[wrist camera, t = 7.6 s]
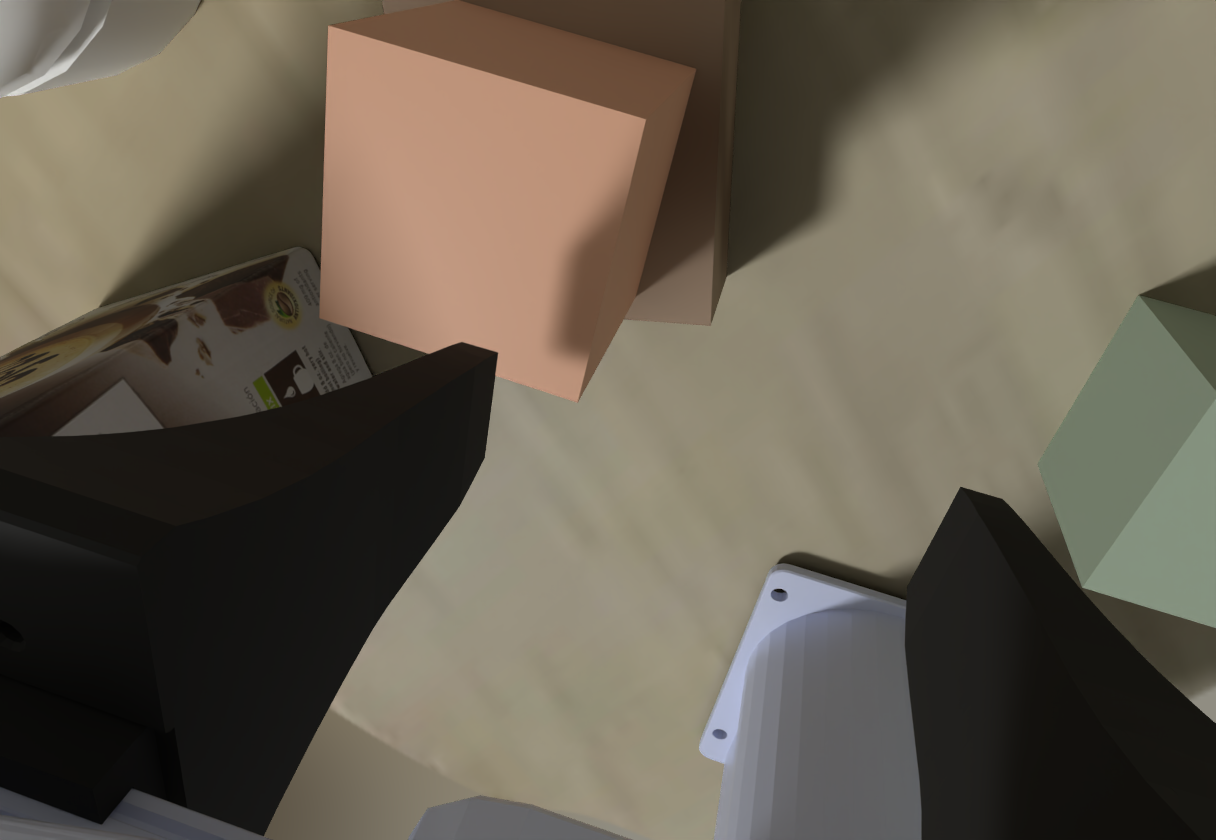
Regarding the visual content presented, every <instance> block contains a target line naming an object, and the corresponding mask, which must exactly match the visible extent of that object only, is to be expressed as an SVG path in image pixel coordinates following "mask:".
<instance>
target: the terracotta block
mask: <svg viewBox="0 0 1216 840" xmlns="http://www.w3.org/2000/svg"><path fill="white" fill-rule="evenodd" d="M695 72H696V69H695V68H692V67H689V66H685V65H682V64H678V63H675V62H671V61H668V60H664V59H661V58H657V57H654V56H650V55H647V54H644V53H640V52H637V51H633V50H630V49H626V48H623V47H619V46H616V45H612V44H609V43H605V42H602V41H598V40H595V39H592V38H588V37H585V36H581V35H578V34H574V33H571V32H567V31H564V30H560V29H557V28H553V27H550V26H547V25H543V24H540V23H536V22H533V21H529V20H526V19H522V18H519V17H515V16H512V15H508V14H505V13H501V12H498V11H495V10H491V9H488V8H484V7H481V6H477V5H474V4H470V3H467V2H463V1H460V0H454V1H449V2H444V3H439V4H434V5H429V6H424V7H419V8H414V9H409V10H404V11H399V12H394V13H389V14H384V15H379V16H374V17H368V18H363V19H358V20H353V21H348V22H343V23H338V24H333V25H328V51H327V84H326V116H325V149H324V181H323V214H322V246H321V279H320V311H319V318H320V319H324V320H327V321H330V322H333V323H336V324H339V325H342V326H345V327H348V328H351V329H354V330H357V331H360V332H363V333H366V334H369V335H372V336H376V337H379V338H382V339H385V340H388V341H391V342H394V343H397V344H400V345H403V346H406V347H409V348H412V349H415V350H418V351H421V352H425V353H428V354H430V353H433V352H435V351H438V350H440V349H443V348H445V347H448V346H451V345H453V344H457V343H460V342H464V343H468V344H471V345H475V346H478V347H481V348H485V349H488V350H492V351H495V352H498V359H497V366H496V374H495V376H498V377H501V378H504V379H507V380H510V381H513V382H516V383H519V384H522V385H525V386H529V387H532V388H535V389H538V390H541V391H544V392H547V393H550V394H553V395H556V396H559V397H562V398H565V399H568V400H571V401H574V402H577V403H578V401H579V399H580V397H581V396H582V394H583V392H584V390H585V388H586V386H587V385H588V383H589V381H590V379H591V377H592V376H593V374H594V372H595V370H596V368H597V367H598V365H599V363H600V361H601V359H602V357H603V356H604V354H605V352H606V350H607V348H608V347H609V345H610V343H611V341H612V339H613V337H614V336H615V334H616V332H617V330H618V328H619V327H620V325H621V323H622V321H623V319H624V317H625V316H626V314H627V312H628V310H629V308H630V307H631V305H632V303H633V301H634V299H635V297H636V294H637V291H638V287H639V283H640V279H641V276H642V272H643V268H644V264H645V261H646V257H647V253H648V249H649V246H650V242H651V238H652V234H653V230H654V227H655V223H656V219H657V215H658V212H659V208H660V204H661V200H662V197H663V193H664V189H665V185H666V182H667V178H668V174H669V170H670V167H671V163H672V159H673V155H674V151H675V148H676V144H677V140H678V136H679V133H680V129H681V125H682V121H683V118H684V114H685V110H686V106H687V103H688V99H689V95H690V91H691V88H692V84H693V80H694V76H695Z"/></svg>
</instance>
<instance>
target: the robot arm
mask: <svg viewBox="0 0 1216 840" xmlns="http://www.w3.org/2000/svg"><path fill="white" fill-rule="evenodd" d="M497 359H498V352H495V351H492V350H488V349H485V348H481V347H478V346H475V345H471V344H468V343H464V342H460V343H457V344H453V345H451V346H448V347H445V348H443V349H440V350H438V351H435V352H433V353H430V354H428V355H426V356H423V357H421V358H418V359H416V360H413V361H411V362H409V363H406V364H404V365H401V366H399V367H396V368H394V369H391V370H389V371H386V372H384V373H381V374H379V375H376V376H374V377H371V378H368V379H366V380H363V381H360V382H357V383H354V384H351V385H348V386H345V387H343V388H340V389H337V390H334V391H331V392H328V393H325V394H322V395H319V396H316V397H313V398H310V399H307V400H303V401H300V402H296V403H293V404H289V405H285V406H282V407H278V408H273V409H269V410H265V411H261V412H257V413H253V414H248V415H243V416H239V417H233V418H227V419H221V420H215V421H209V422H203V423H197V424H191V425H185V426H179V427H172V428H164V429H155V430H145V431H136V432H124V433H111V434H98V435H80V436H39V437H0V840H271V839H269V838H266V837H264V834H265V832H266V830H267V828H268V826H269V824H270V822H271V820H272V817H273V816H274V814H275V811H276V809H277V807H278V805H279V803H280V801H281V799H282V797H283V795H284V793H285V791H286V789H287V788H288V785H289V784H290V781H291V780H292V778H293V776H294V774H295V772H296V770H297V768H298V766H299V764H300V762H301V760H302V758H303V756H304V754H305V752H306V750H307V748H308V746H309V744H310V742H311V741H312V738H313V737H314V735H315V733H316V731H317V729H318V727H319V725H320V724H321V722H322V720H323V718H324V716H325V714H326V712H327V711H328V709H329V707H330V705H331V703H332V701H333V699H334V698H335V696H336V694H337V692H338V690H339V688H340V686H341V685H342V683H343V681H344V679H345V677H346V675H347V674H348V672H349V670H350V668H351V667H352V665H353V663H354V661H355V660H356V658H357V656H358V654H359V652H360V651H361V649H362V647H363V645H364V644H365V642H366V640H367V638H368V637H369V635H370V633H371V631H372V630H373V628H374V626H375V625H376V623H377V622H378V620H379V619H380V617H381V616H382V614H383V613H384V611H385V610H386V608H387V606H388V605H389V604H390V602H391V601H392V599H393V598H394V597H395V595H396V594H397V593H398V591H399V590H400V588H401V587H402V586H403V584H404V583H405V582H406V580H407V579H408V577H409V576H410V575H411V573H412V572H413V570H414V569H415V568H416V566H417V565H418V564H419V562H420V561H421V559H422V558H423V557H424V555H425V554H426V553H427V551H428V550H429V548H430V547H431V546H432V544H433V543H434V542H435V540H436V539H437V537H438V536H439V534H440V533H441V532H442V530H443V529H444V527H445V526H446V525H447V523H448V522H449V520H450V519H451V518H452V516H453V515H454V513H455V512H456V510H457V509H458V508H459V506H460V504H461V502H462V501H463V499H464V497H465V495H466V493H467V491H468V489H469V488H470V486H471V484H472V482H473V480H474V478H475V476H476V474H477V472H478V470H479V468H480V466H481V464H482V462H483V460H484V458H485V451H486V443H487V435H488V428H489V420H490V412H491V405H492V397H493V389H494V382H495V374H496V366H497ZM777 588H778V589H783V590H785V591H786V592H784V593H777V592H776V591H774V589H777ZM719 729H721V730H719ZM699 750H700V752H701V753H702V754H703V755H704V756H705V757H707V758H709V759H712V760H715V761H718V762H721V763H724V771H723V778H722V785H721V792H720V799H719V807H718V814H717V821H716V828H715V835H714V840H1216V723H1215V722H1213V721H1212V720H1211V719H1210V718H1209V717H1208V716H1206V715H1205V714H1204V713H1203V712H1202V711H1201V710H1200V709H1199V708H1197V707H1196V706H1195V705H1194V704H1193V703H1192V702H1191V701H1190V700H1189V699H1188V698H1187V697H1185V696H1184V695H1183V694H1182V693H1181V692H1180V691H1179V690H1178V689H1177V688H1176V687H1174V686H1173V685H1172V684H1171V683H1170V682H1169V681H1168V680H1167V679H1166V678H1165V677H1163V676H1162V675H1161V674H1160V673H1159V672H1158V671H1157V670H1156V669H1155V668H1154V667H1153V666H1152V665H1151V664H1150V663H1149V662H1148V661H1147V660H1146V659H1145V658H1144V657H1143V656H1142V655H1141V654H1140V653H1139V652H1138V651H1137V650H1136V649H1135V648H1134V647H1133V646H1132V645H1131V643H1130V642H1129V641H1128V640H1127V639H1126V638H1125V637H1124V636H1123V635H1122V634H1121V633H1120V632H1119V631H1118V630H1117V629H1116V628H1115V627H1114V626H1113V625H1112V624H1111V623H1110V621H1109V620H1108V619H1107V618H1106V617H1105V616H1104V615H1103V614H1102V613H1101V612H1100V610H1099V609H1098V608H1097V607H1096V606H1095V605H1094V604H1093V603H1092V602H1091V600H1090V599H1089V598H1088V597H1087V596H1086V595H1085V594H1084V592H1083V591H1082V590H1081V589H1080V588H1079V587H1078V585H1077V584H1076V583H1075V582H1074V581H1073V580H1072V578H1071V577H1070V576H1069V575H1068V574H1067V573H1066V571H1065V570H1064V569H1063V568H1062V567H1061V565H1060V564H1059V563H1058V562H1057V561H1056V560H1055V558H1054V557H1053V556H1052V555H1051V554H1050V552H1049V551H1048V550H1047V549H1046V548H1045V546H1044V545H1043V544H1042V543H1041V542H1040V540H1039V539H1038V538H1037V537H1036V536H1035V534H1034V533H1033V532H1032V531H1031V530H1030V528H1029V527H1028V526H1027V525H1026V524H1025V523H1024V521H1023V520H1022V519H1021V518H1020V517H1019V516H1018V515H1017V513H1016V512H1015V511H1014V510H1013V509H1012V508H1011V507H1010V506H1009V505H1008V504H1007V503H1006V502H1005V501H1004V500H1003V499H1001V498H997V497H994V496H990V495H987V494H983V493H980V492H976V491H973V490H970V489H966V488H963V487H960V489H959V491H958V493H957V494H956V496H955V498H954V500H953V502H952V504H951V506H950V508H949V509H948V511H947V513H946V515H945V517H944V519H943V521H942V523H941V525H940V526H939V528H938V530H937V532H936V534H935V536H934V538H933V540H932V541H931V543H930V545H929V547H928V549H927V551H926V553H925V555H924V556H923V558H922V560H921V562H920V564H919V566H918V568H917V570H916V571H915V573H914V575H913V577H912V579H911V581H910V583H909V585H908V586H907V599H906V600H903V599H900V598H897V597H894V596H890V595H887V594H884V593H881V592H878V591H874V590H871V589H868V588H865V587H861V586H858V585H855V584H852V583H849V582H845V581H842V580H839V579H836V578H832V577H829V576H826V575H823V574H820V573H816V572H813V571H810V570H807V569H803V568H800V567H797V566H794V565H790V564H785V563H782V564H777V565H775V566H773V567H772V568H771V569H770V571H769V573H768V575H767V578H766V580H765V583H764V585H763V587H762V590H761V592H760V595H759V597H758V600H757V602H756V605H755V607H754V609H753V612H752V614H751V617H750V619H749V622H748V624H747V627H746V629H745V631H744V634H743V636H742V639H741V641H740V644H739V646H738V649H737V651H736V653H735V656H734V658H733V661H732V663H731V666H730V668H729V671H728V673H727V675H726V678H725V680H724V683H723V685H722V688H721V690H720V693H719V695H718V697H717V700H716V702H715V705H714V707H713V710H712V712H711V715H710V717H709V719H708V722H707V724H706V727H705V729H704V732H703V734H702V737H701V739H700V745H699ZM408 840H632V839H629V838H626V837H623V836H620V835H617V834H614V833H611V832H608V831H606V830H603V829H600V828H597V827H594V826H592V825H589V824H586V823H583V822H580V821H577V820H574V819H572V818H569V817H566V816H563V815H560V814H557V813H554V812H552V811H549V810H546V809H543V808H540V807H537V806H534V805H531V804H525V803H520V802H514V801H509V800H503V799H498V798H492V797H487V796H481V795H480V796H476V797H471V798H467V799H463V800H459V801H454V802H451V803H446V804H442V805H438V806H435V807H431V808H428V809H427V810H426V812H425V813H424V815H423V816H422V818H421V819H420V821H419V822H418V824H417V825H416V827H415V828H414V830H413V831H412V833H411V834H410V836H409V839H408Z"/></svg>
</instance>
